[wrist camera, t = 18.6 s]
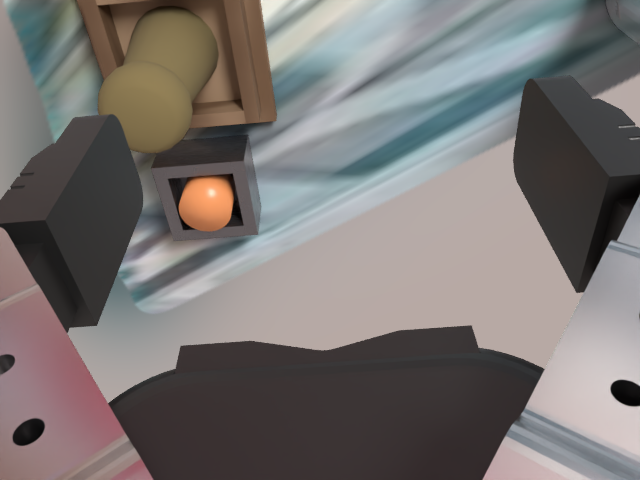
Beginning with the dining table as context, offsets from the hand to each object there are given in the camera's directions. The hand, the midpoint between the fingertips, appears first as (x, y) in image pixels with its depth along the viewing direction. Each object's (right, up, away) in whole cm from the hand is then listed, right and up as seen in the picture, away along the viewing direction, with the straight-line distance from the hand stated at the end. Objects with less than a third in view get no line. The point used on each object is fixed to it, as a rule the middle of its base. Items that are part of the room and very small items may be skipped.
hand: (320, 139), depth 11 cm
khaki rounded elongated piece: (-10, +11, +28) cm, 32 cm away
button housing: (-9, +3, +36) cm, 37 cm away
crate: (-10, +12, +29) cm, 33 cm away
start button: (-9, +2, +34) cm, 36 cm away
